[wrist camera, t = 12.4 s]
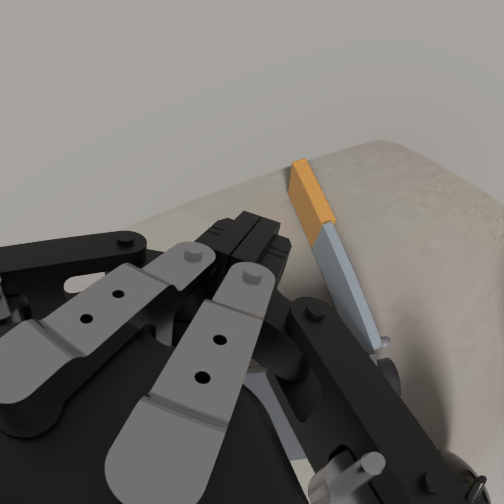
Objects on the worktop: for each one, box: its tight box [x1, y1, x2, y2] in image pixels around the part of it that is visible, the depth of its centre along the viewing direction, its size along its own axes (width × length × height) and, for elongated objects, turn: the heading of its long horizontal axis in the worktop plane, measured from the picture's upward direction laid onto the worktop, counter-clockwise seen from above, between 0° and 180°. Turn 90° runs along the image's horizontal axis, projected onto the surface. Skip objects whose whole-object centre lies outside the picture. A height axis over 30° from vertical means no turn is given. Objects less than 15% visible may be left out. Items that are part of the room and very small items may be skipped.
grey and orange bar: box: [288, 158, 391, 350], centre depth 31 cm, size 19×2×7 cm, turn 20°
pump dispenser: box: [437, 449, 491, 504], centre depth 19 cm, size 10×10×15 cm
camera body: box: [243, 354, 401, 461], centre depth 27 cm, size 14×8×8 cm, turn 96°
